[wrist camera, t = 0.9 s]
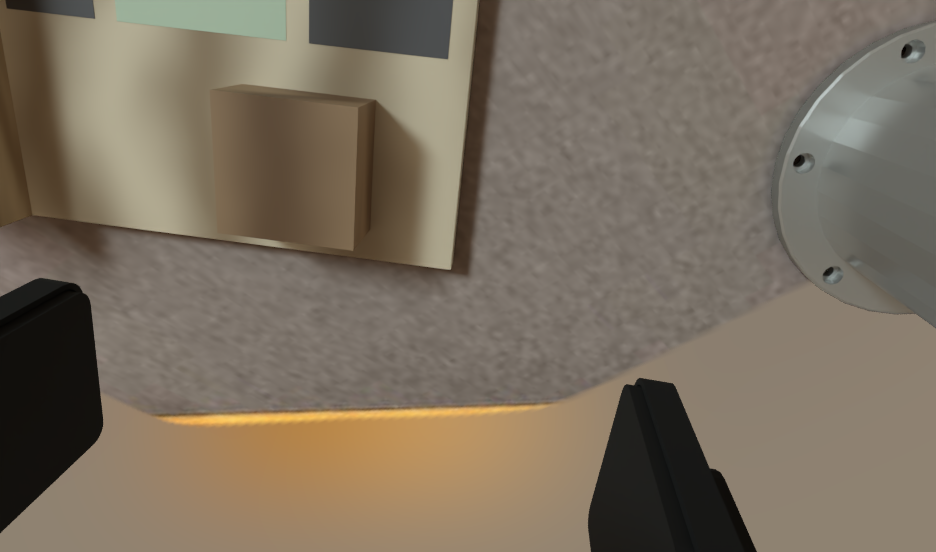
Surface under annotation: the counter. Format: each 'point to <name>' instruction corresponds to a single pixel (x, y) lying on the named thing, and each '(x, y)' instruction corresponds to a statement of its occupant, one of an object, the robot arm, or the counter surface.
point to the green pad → (209, 15)
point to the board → (189, 113)
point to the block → (293, 165)
